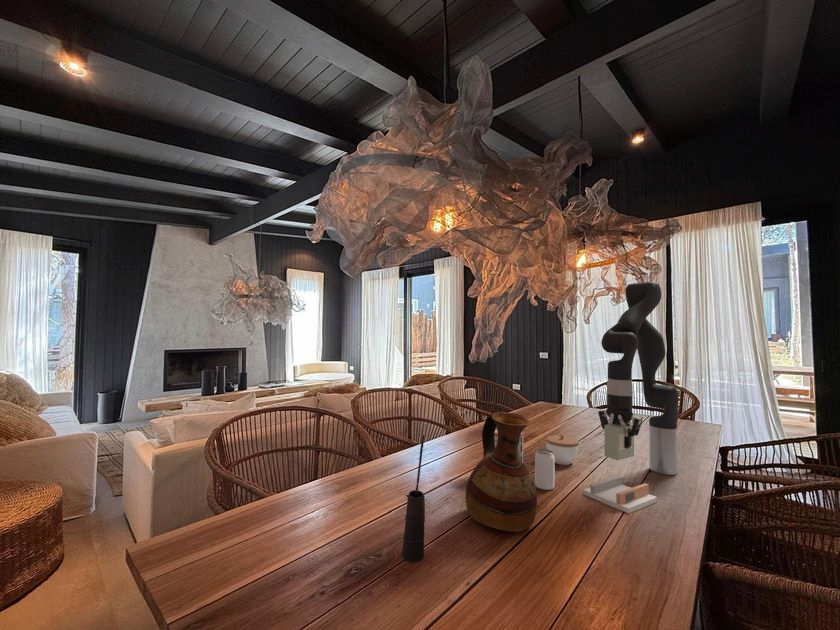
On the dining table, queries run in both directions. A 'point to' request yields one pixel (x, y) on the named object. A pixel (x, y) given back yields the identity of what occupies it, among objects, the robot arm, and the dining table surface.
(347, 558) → the dining table surface
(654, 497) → the shelf
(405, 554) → the butter churn
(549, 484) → the can
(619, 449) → the carton
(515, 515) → the ceramic pitcher
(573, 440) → the lidded bowl
